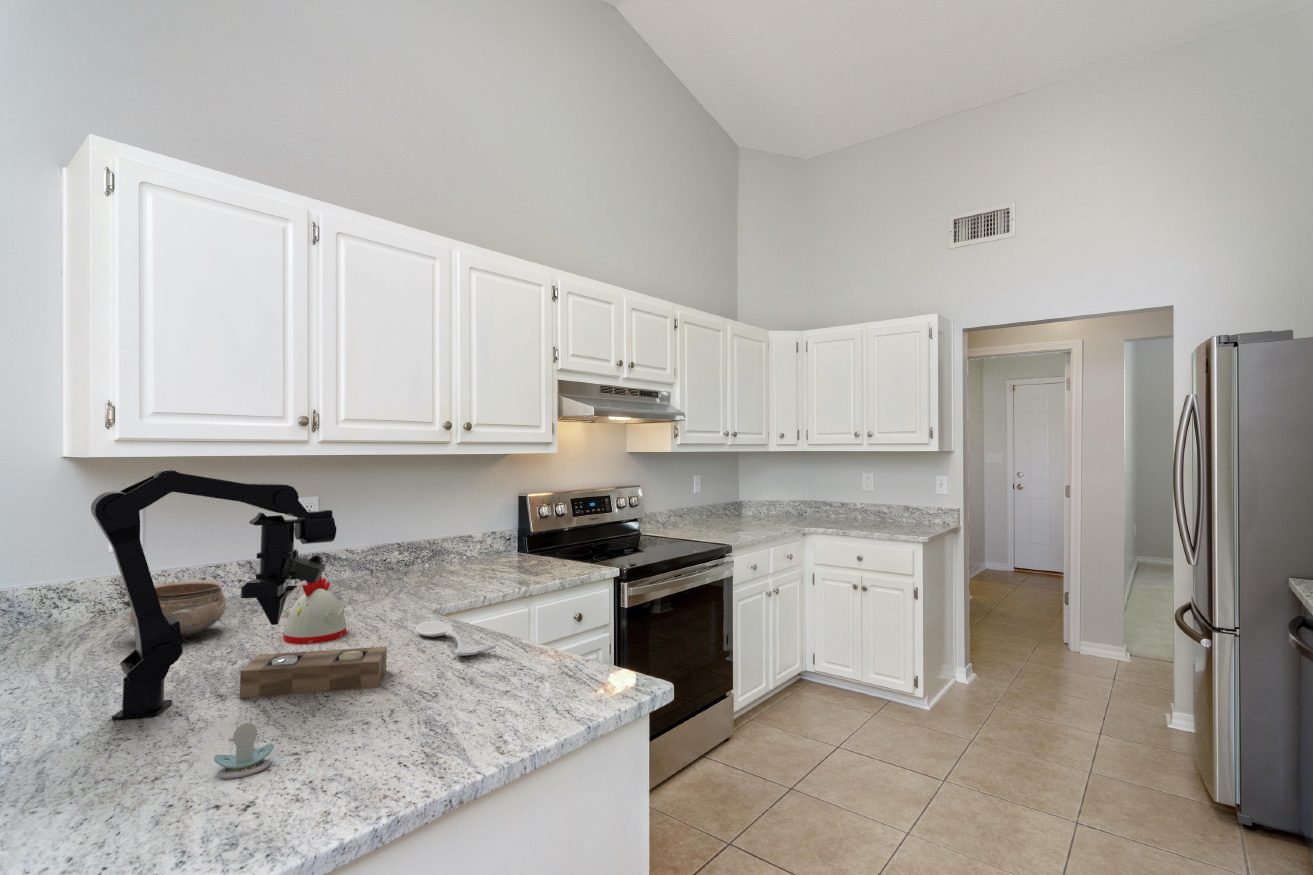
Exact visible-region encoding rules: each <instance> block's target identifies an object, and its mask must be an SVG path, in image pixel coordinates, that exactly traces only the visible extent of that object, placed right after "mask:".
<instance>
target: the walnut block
mask: <svg viewBox="0 0 1313 875" xmlns="http://www.w3.org/2000/svg"><path fill="white" fill-rule="evenodd" d="M387 650H388V646H375V647H373V646H372V647H362V648H361V647H360V648H343V649H330V650H329V649H326V650H311V651H310V650H309V651H297V652H280V653H279V652H278V653H266V654H265V653H264V654H263V653H262V654H258V655H257V656H256V657H255V658H253V659H252V660H251V661H250V662H249V663H248V664H247V665H246V666H245V667H243V668H242V669H241V670H240V674H239V676H240V678H239V699H246V698H257V697H259V698H260V697H272V696H273V697H274V696H283V695H284V696H286V695H294V694H296V695H298V694H310V693H311V694H312V693H320V692H321V693H322V692H323V693H324V692H334V691H336V692H337V691H345V690H346V691H348V690H349V691H350V690H360V689H361V690H362V689H372V688H379V687H380V684H381V683H382V680H383V678H384V675H385V674H386V671H387V656H388V655H387V652H388V651H387ZM350 651H360V652H363V658H362V659H354V660H339V655H340V654H342V653H345V652H350ZM282 656H297V657H298V659H297V662H296V663H294V664H280V665H272V660H273V659H275V658H277V657H282Z"/></svg>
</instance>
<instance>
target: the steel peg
mask: <svg viewBox="0 0 1313 875" xmlns="http://www.w3.org/2000/svg"><path fill="white" fill-rule="evenodd" d="M297 659H298V657H297V656H282V657H277V658H275V659H273V660H272V665H280V664H294V663H296V662H297Z"/></svg>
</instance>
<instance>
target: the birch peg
mask: <svg viewBox="0 0 1313 875" xmlns="http://www.w3.org/2000/svg"><path fill="white" fill-rule="evenodd" d="M362 658H363V652H360V651H350V652H345V653H342V654H340V655H339V660H354V659H362Z"/></svg>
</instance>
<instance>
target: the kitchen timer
mask: <svg viewBox="0 0 1313 875" xmlns="http://www.w3.org/2000/svg"><path fill="white" fill-rule="evenodd" d="M330 585H331V582H328V581H327V579H326V578H322V576H321V577H320V579H319V581H316V583H308V582H306V584H302V589H303V592H304V594H302V595H301V596H300V597H299V598H298V599H297V600H296V601H295V603H294V604H293V606H292V607H290V608H289V609H288V610H287V614H286V618H287V619H286V622H285V625H284V628H283V629H284V630H283V642H284V643H287V644H292V645H293V644H295V645H310V644H319V643H326V642H330V641H335V640H338V639H340V638H342V637H344V636H345V635H346V634H347V623H346V622H347V621H346V617H345V609H344V608H343V607H342V605H341V603H340V602H339V600H338V599H337V597H336V596H335V595H334V594H332V593H331V592H329V587H330Z"/></svg>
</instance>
